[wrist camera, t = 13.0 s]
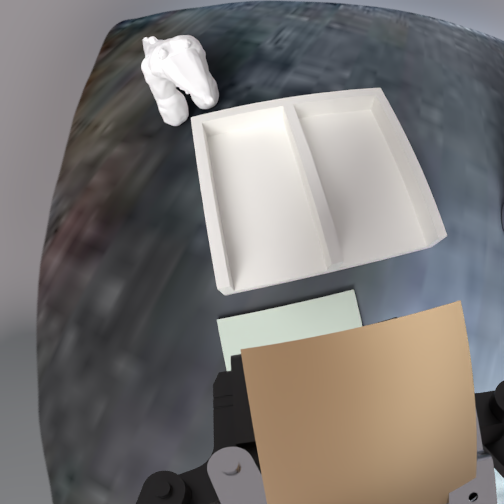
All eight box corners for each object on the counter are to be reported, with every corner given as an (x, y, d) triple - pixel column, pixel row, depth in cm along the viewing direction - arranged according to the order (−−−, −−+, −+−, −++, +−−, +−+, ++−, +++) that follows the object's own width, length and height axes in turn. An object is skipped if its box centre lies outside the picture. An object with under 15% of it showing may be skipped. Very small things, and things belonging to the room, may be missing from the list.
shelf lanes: (373, 107, 33) (380, 87, 29) (431, 247, 28) (447, 235, 25) (198, 137, 33) (190, 117, 30) (224, 295, 28) (217, 288, 25)
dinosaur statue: (199, 176, 31) (159, 94, 20) (131, 72, 39) (102, 15, 29) (259, 142, 31) (242, 54, 21) (172, 51, 40) (150, -9, 30)
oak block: (342, 332, 16) (460, 300, 6) (355, 414, 15) (475, 488, 4) (256, 348, 16) (240, 348, 6) (269, 431, 15) (276, 553, 4)
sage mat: (352, 290, 28) (353, 289, 27) (379, 419, 24) (380, 420, 24) (217, 320, 28) (216, 319, 27) (245, 450, 24) (244, 451, 24)
